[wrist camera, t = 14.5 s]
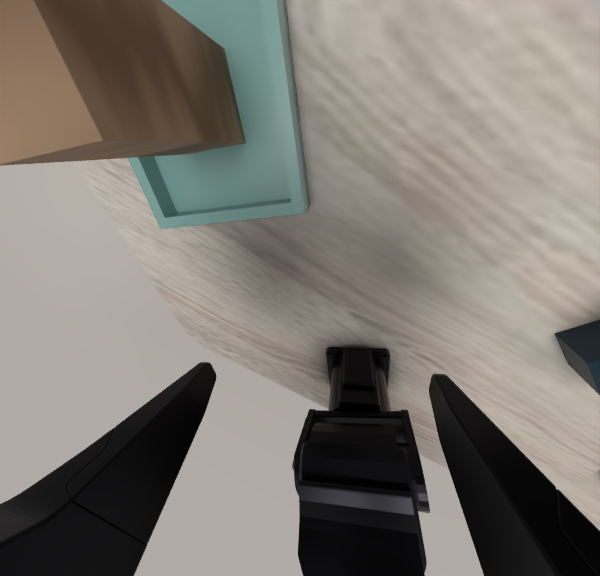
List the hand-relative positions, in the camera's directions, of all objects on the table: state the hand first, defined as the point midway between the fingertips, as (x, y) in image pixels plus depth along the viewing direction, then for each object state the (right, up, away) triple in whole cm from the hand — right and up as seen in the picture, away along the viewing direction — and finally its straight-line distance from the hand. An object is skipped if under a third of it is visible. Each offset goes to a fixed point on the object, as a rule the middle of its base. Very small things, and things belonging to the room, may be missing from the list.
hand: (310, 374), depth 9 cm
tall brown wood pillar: (-7, +15, +5) cm, 17 cm away
